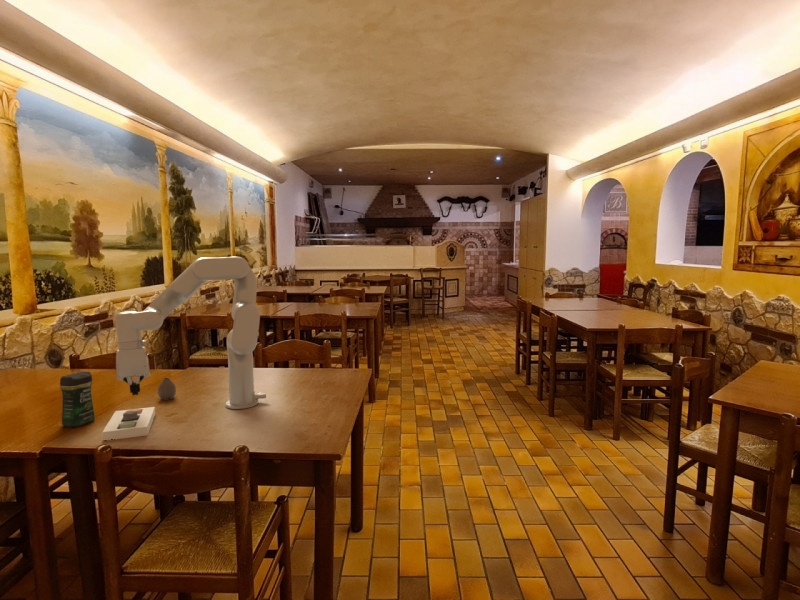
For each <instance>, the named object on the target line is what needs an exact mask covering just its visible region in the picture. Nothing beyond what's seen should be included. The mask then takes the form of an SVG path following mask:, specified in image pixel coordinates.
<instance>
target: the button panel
mask: <svg viewBox="0 0 800 600" xmlns="http://www.w3.org/2000/svg"><path fill="white" fill-rule="evenodd" d="M131 409H132V408H131ZM131 409H123V410H115V411H114V413H112V414H113V415H112V416H111V417H110V419H109V421H108V422H107V424H106V425H105V427H104V429H103V431H102V434H101V435H102V441H103V440H107V441H113V440H114V439H115V440H120V439H123V440H124V439H128V438H137V437H143V436H144V437H146V436H149V433H150V429H151V427H152V425H153V422H154V419H155V416H156V407H155V406H151V407H142V408H141V407H140V408H138V409H140V410H141V414H138V417H139V419H138V420H134V421H133V422H135V427H130V428H122V429H120V424H121V423H123V422H124V421H123V413H125V412H127V411H128V410H131ZM126 422H128V421H126ZM111 439H113V440H111Z"/></svg>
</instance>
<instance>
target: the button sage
mask: <svg viewBox="0 0 800 600" xmlns="http://www.w3.org/2000/svg"><path fill="white" fill-rule="evenodd" d="M122 422H123V423H121V424H120V426H119V429H122V428H130V427H135V426H136V424H135V422H133V421H128V422H124V421H122Z"/></svg>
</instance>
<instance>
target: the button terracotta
mask: <svg viewBox="0 0 800 600" xmlns="http://www.w3.org/2000/svg"><path fill="white" fill-rule="evenodd" d="M127 410H128V411H127V412H129V411H137V413H138V414H141V410H140V409H139V408H133V409H132V408H131V410H130V409H127ZM138 419H139V417H138Z"/></svg>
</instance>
